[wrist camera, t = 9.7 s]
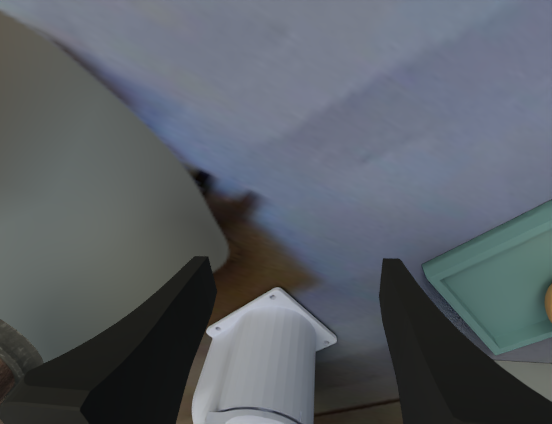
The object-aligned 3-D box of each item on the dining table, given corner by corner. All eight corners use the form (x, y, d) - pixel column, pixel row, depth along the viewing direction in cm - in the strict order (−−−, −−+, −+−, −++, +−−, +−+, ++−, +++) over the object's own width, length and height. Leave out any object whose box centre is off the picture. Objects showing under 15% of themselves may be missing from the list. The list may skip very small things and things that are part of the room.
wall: (600, 357, 27) (633, 401, 24) (585, 379, 28) (615, 422, 26) (395, 347, 29) (403, 385, 26) (392, 367, 31) (399, 405, 28)
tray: (487, 339, 27) (495, 355, 26) (421, 264, 24) (426, 278, 23) (635, 286, 23) (653, 303, 22) (578, 186, 20) (596, 198, 18)
